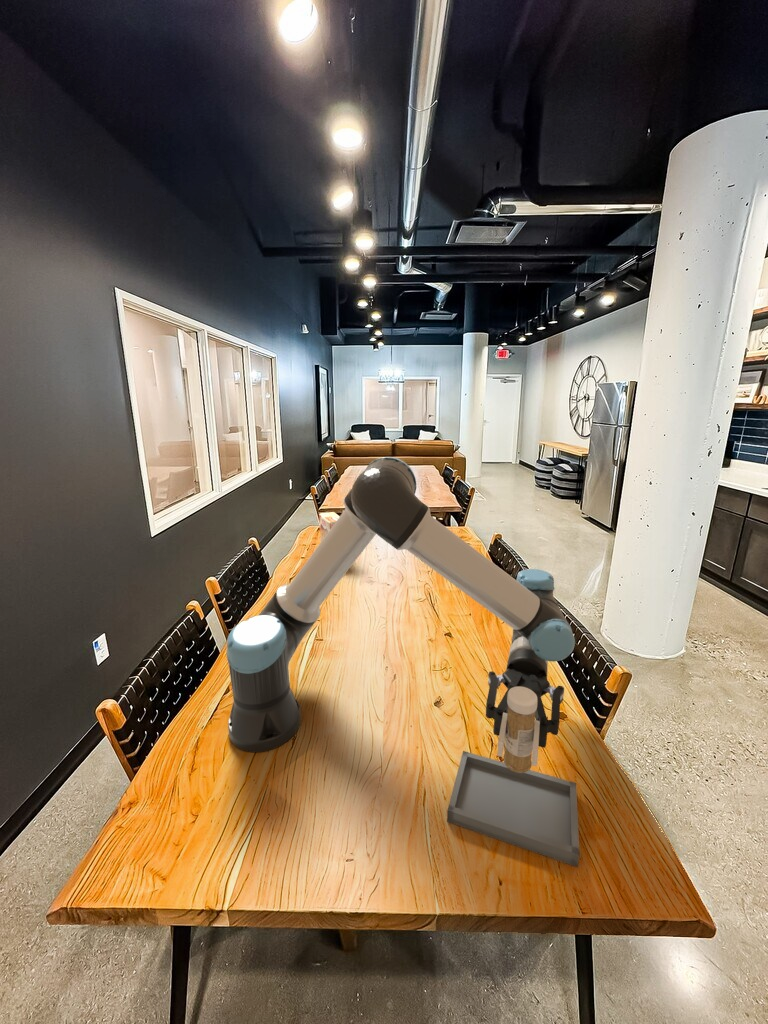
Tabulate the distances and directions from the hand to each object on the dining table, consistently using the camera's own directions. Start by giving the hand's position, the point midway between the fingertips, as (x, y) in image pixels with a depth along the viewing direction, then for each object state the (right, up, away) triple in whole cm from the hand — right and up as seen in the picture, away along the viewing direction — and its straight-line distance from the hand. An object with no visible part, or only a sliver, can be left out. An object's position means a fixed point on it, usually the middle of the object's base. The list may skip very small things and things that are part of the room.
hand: (517, 753), depth 64 cm
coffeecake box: (-42, +15, +120) cm, 128 cm away
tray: (+2, -15, +9) cm, 17 cm away
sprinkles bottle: (+2, -6, +7) cm, 9 cm away
